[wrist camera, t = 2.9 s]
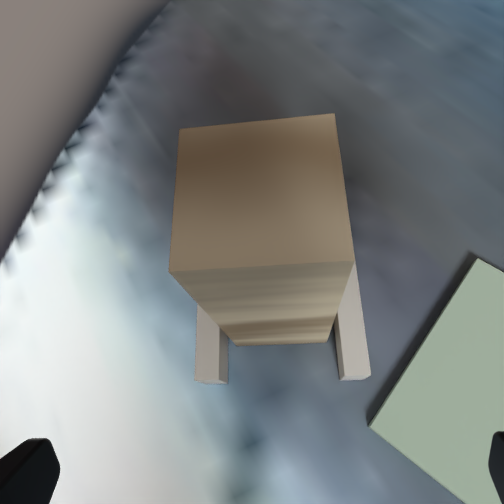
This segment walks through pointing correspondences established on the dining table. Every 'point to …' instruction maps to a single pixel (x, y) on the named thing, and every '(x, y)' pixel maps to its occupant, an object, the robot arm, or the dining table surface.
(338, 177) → the block
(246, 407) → the dining table surface
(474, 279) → the mat
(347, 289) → the channel
